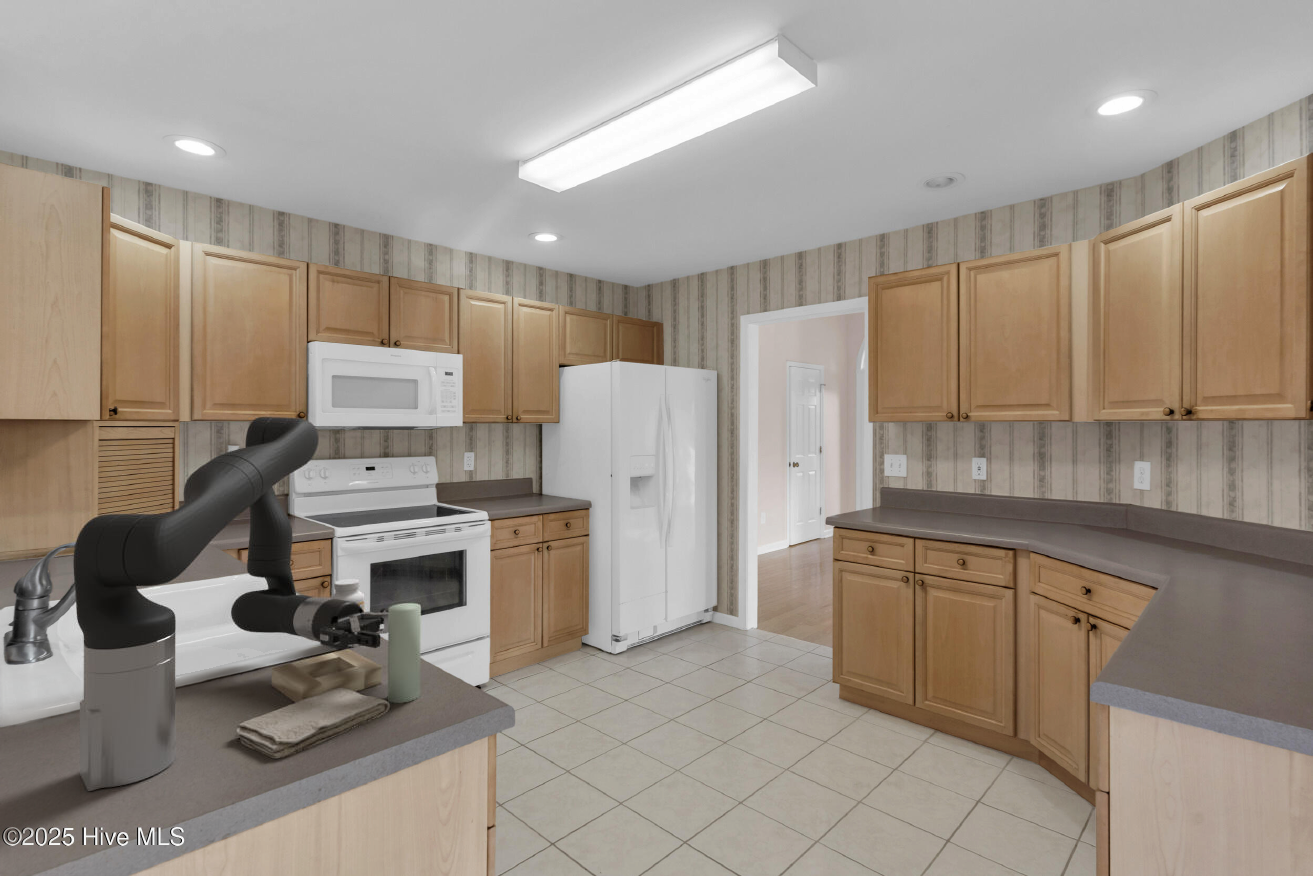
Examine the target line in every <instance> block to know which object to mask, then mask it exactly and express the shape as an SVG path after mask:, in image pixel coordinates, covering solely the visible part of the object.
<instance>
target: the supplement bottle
mask: <svg viewBox="0 0 1313 876" xmlns="http://www.w3.org/2000/svg"><path fill="white" fill-rule="evenodd" d="M333 584H334V587H333V588H334V592H335V593H333V594H332V595H330V597H329V598H333V599H339V600H345V601H351V602H355V603H357V604H358V605H360V607H361V608H362V610H363V611H364V612H365V595H364V593H363V592H361V591H360V590H359V588H360V585H361V584H360V580H359V579H357V578H346V579H339V580H336V581H335V582H334V583H333ZM350 647H351V648H352V647H353V646H352V645H348V648H350Z"/></svg>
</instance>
